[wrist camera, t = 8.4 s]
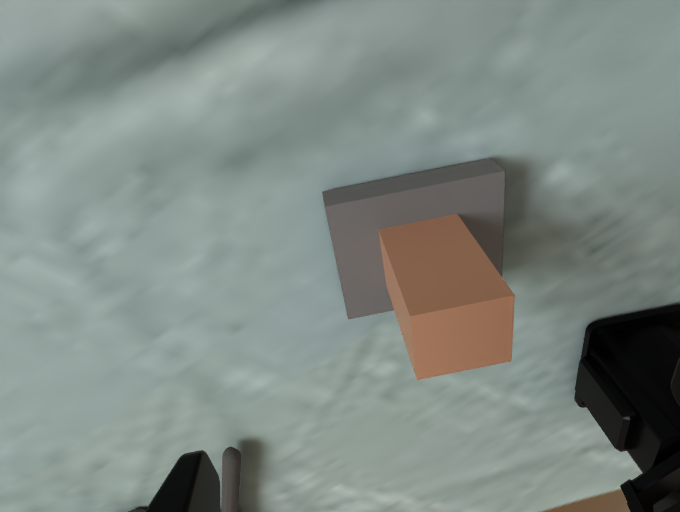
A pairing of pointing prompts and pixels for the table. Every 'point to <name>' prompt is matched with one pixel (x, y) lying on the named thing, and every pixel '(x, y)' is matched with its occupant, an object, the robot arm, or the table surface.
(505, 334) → the stub
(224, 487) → the walkie-talkie
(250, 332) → the table surface
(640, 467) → the robot arm
